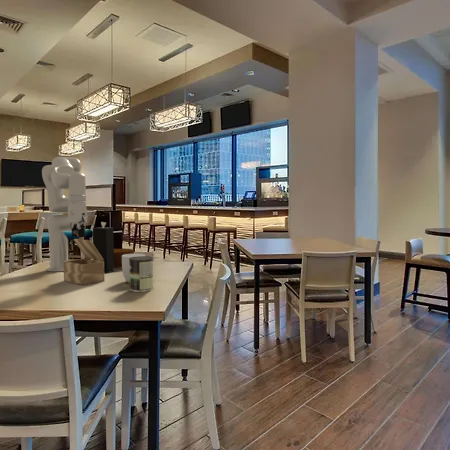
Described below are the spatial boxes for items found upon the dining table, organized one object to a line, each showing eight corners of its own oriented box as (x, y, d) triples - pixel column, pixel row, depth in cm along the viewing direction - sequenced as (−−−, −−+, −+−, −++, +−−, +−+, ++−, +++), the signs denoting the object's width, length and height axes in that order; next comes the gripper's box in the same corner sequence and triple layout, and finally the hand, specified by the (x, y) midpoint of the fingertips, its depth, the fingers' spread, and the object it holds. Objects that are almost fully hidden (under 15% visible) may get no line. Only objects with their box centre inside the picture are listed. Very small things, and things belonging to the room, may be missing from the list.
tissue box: (107, 273, 195) (106, 222, 193) (93, 272, 196) (92, 222, 195) (114, 270, 203) (113, 221, 201) (101, 270, 204) (100, 221, 203)
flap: (66, 231, 175) (69, 229, 177) (85, 258, 184) (87, 256, 185) (83, 232, 166) (86, 230, 168) (102, 261, 175) (104, 259, 176)
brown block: (140, 266, 218) (140, 249, 218) (117, 270, 204) (117, 253, 203) (120, 263, 228) (120, 247, 227) (97, 267, 213) (97, 251, 212)
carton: (64, 280, 176) (63, 261, 175) (86, 277, 185) (85, 258, 185) (81, 285, 166) (81, 264, 166) (104, 281, 176) (104, 261, 175)
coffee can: (127, 292, 153) (127, 259, 152) (131, 286, 163) (131, 256, 163) (151, 291, 154) (151, 259, 153) (154, 286, 164) (154, 256, 163)
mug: (150, 277, 184) (149, 252, 183) (155, 282, 174) (155, 255, 173) (120, 280, 177) (119, 254, 176) (124, 285, 167) (123, 257, 166)
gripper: (60, 199, 174) (61, 236, 175) (79, 198, 163) (80, 238, 164) (75, 199, 180) (76, 235, 181) (94, 199, 169) (95, 237, 170)
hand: (78, 236), depth 173 cm, fingers closed on flap, 5 cm apart
